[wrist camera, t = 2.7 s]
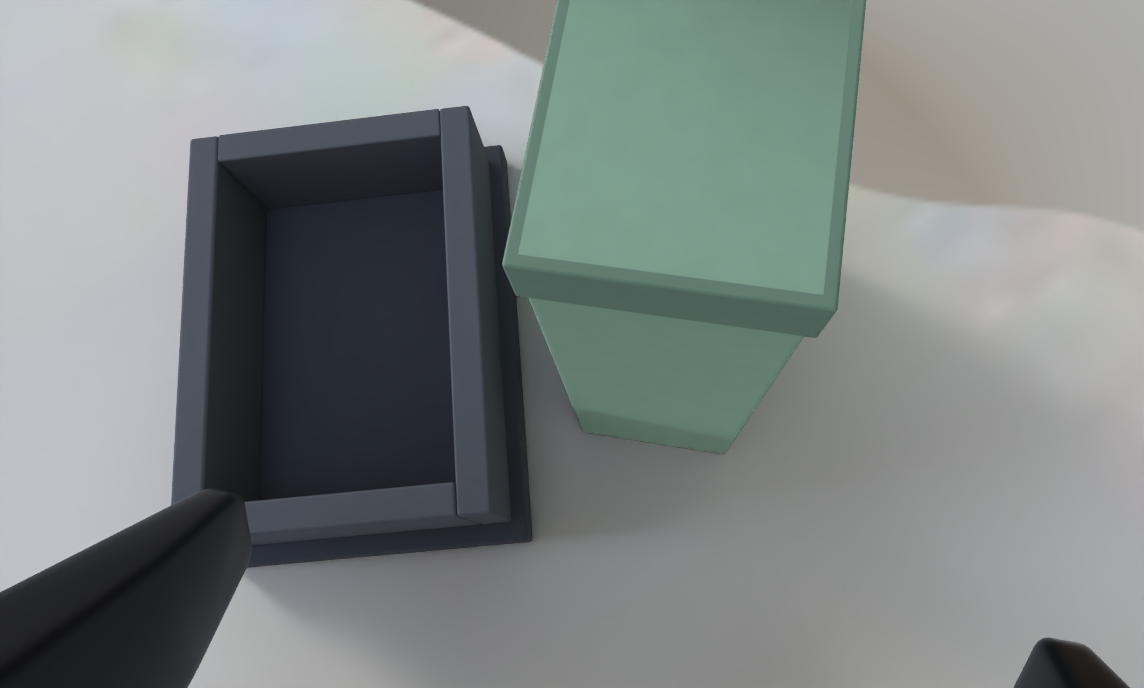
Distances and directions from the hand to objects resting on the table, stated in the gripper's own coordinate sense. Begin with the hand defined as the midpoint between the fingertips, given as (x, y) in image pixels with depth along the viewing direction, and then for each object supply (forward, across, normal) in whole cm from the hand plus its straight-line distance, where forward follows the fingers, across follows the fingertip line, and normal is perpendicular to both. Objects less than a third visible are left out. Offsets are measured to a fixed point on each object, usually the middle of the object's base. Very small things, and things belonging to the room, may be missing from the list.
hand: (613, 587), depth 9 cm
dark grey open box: (+13, +8, +6) cm, 16 cm away
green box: (+14, 0, +4) cm, 15 cm away
